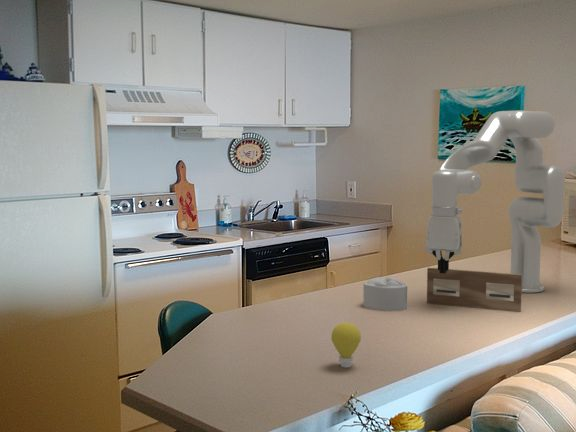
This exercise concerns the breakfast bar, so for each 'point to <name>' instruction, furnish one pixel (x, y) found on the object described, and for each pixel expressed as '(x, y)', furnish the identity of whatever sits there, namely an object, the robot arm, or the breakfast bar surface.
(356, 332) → the light bulb
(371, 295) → the lumpy-topped squat cylinder
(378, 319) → the breakfast bar surface
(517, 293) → the wooden panel
